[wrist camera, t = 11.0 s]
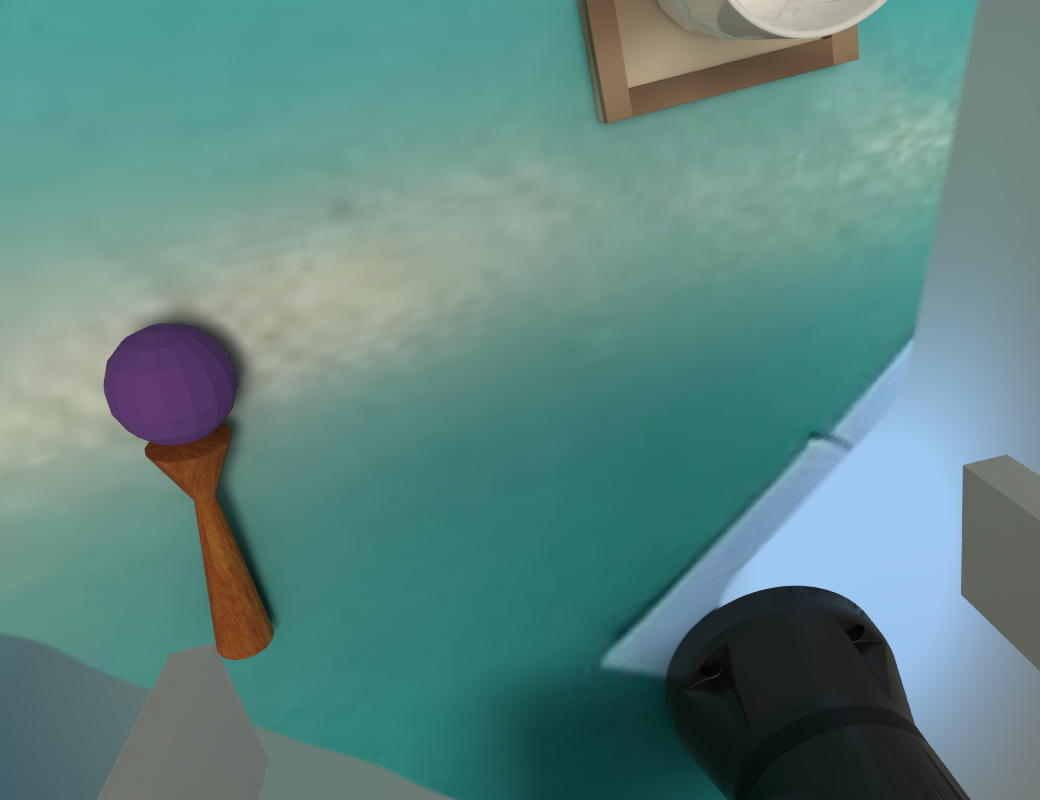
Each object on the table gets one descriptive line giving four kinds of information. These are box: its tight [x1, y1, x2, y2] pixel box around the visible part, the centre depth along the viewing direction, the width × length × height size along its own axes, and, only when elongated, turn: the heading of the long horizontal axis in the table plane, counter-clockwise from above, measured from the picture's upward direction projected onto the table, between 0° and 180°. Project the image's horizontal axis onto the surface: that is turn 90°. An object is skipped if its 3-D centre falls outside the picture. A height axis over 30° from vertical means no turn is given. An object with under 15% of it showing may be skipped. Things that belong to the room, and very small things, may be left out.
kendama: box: [104, 324, 274, 660], centre depth 41 cm, size 6×6×20 cm
